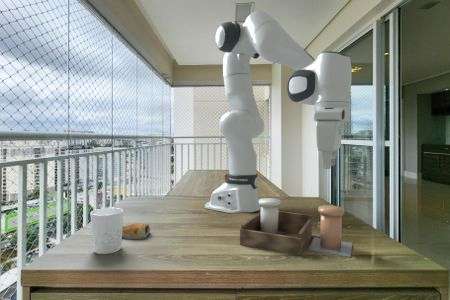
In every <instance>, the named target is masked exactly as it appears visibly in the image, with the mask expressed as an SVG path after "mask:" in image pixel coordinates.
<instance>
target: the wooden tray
mask: <svg viewBox="0 0 450 300" xmlns="http://www.w3.org/2000/svg"><path fill="white" fill-rule="evenodd" d="M260 221H261V208H260V209H259V210H258V213H256V214H255V215H253V216H252V217H251V218H249V219H248V220H246V221H245V222H243V223H242V224H240V229H239V245H241V246H247V247H250V248H251V247H252V248H258V249H263V250H267V251H268V250H269V251H273V252H280V253H286V254H291V255H297V256H301V255H302V254H303V252H304V250H305V248H306V247H307V245H308V243H309V241H310V239H311V238H312V236H313V214H308V213H305V214H304V213H299V212H291V211H290V212H289V211H281V210H279V211H278V234H272V233H265V232H260Z"/></svg>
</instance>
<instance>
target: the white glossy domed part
mask: <svg viewBox="0 0 450 300" xmlns="http://www.w3.org/2000/svg"><path fill="white" fill-rule="evenodd" d="M258 201H259V206H260V209H261V221H260V232H265V233H272V234H278V211H280V210H279V207H281V203H282V201H281V200H280V199H277V198H274V197H273V198H271V197H270V198H269V197H264V198H263V197H262V198H258Z"/></svg>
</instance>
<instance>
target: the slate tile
mask: <svg viewBox="0 0 450 300" xmlns="http://www.w3.org/2000/svg"><path fill="white" fill-rule="evenodd" d="M353 245H354V244H353V242H348V241H342V240H341V249H338V250H330V249H325V248H323V247H321V246H320V237H313V239H312V240H311V242H310V244H309V246H308V248H307V251H309V252H314V253H315V252H316V253H320V254H327V255H332V256H339V257H344V258H350V259H351V256H352V249H353Z"/></svg>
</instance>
